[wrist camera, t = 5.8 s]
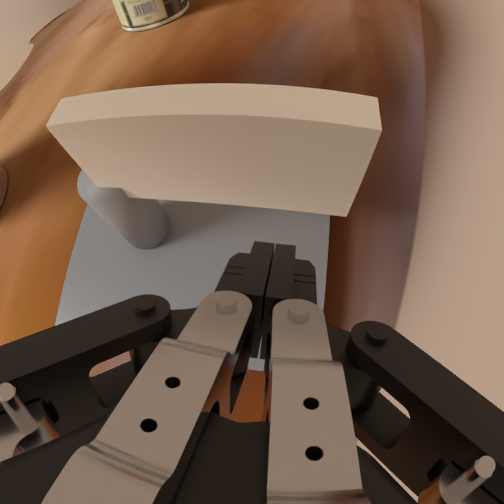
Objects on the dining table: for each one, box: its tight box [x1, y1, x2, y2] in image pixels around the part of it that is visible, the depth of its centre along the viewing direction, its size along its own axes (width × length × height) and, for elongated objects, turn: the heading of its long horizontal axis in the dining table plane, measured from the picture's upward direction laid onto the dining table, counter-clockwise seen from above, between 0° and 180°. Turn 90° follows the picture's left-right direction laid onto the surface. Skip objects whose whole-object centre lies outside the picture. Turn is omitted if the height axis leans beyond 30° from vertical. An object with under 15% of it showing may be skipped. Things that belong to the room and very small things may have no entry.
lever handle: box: [46, 83, 382, 249], centre depth 15 cm, size 14×3×12 cm, turn 82°
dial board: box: [55, 199, 330, 371], centre depth 22 cm, size 18×18×2 cm
